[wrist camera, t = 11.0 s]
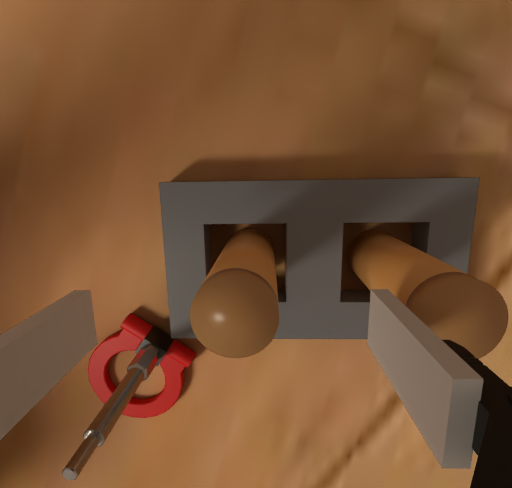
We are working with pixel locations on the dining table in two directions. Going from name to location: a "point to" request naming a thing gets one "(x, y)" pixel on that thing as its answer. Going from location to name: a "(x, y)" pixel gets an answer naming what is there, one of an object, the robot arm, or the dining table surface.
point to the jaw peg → (238, 298)
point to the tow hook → (130, 382)
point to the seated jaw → (432, 291)
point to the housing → (310, 239)
